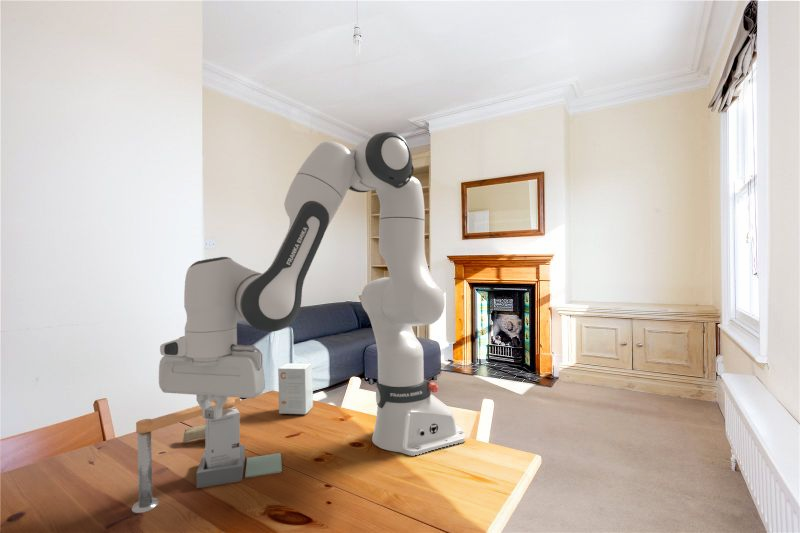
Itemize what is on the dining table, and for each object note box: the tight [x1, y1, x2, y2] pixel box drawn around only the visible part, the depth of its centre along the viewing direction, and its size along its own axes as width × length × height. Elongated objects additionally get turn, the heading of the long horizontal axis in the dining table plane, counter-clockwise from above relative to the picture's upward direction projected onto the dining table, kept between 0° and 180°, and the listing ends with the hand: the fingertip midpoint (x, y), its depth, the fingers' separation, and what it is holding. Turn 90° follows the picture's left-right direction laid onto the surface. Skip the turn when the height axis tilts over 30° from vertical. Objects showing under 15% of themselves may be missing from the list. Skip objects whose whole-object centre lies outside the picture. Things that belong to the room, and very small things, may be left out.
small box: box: [277, 362, 314, 415], centre depth 116 cm, size 8×6×13 cm
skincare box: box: [204, 406, 241, 469], centre depth 81 cm, size 6×4×12 cm
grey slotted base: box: [195, 444, 246, 489], centre depth 81 cm, size 8×10×3 cm
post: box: [131, 431, 160, 514], centre depth 70 cm, size 4×4×13 cm
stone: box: [182, 423, 206, 443], centre depth 96 cm, size 11×6×5 cm, turn 117°
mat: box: [244, 452, 283, 479], centre depth 84 cm, size 7×8×1 cm
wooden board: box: [135, 397, 241, 435], centre depth 76 cm, size 19×4×2 cm, turn 143°
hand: (212, 417), depth 75 cm, fingers closed
